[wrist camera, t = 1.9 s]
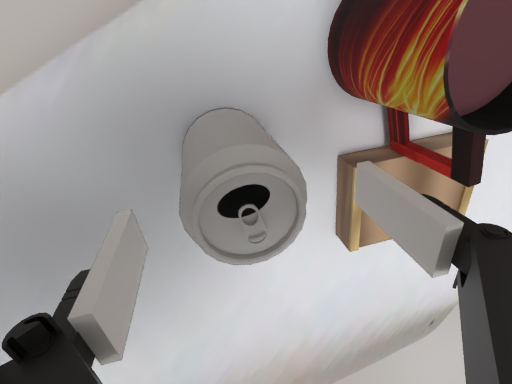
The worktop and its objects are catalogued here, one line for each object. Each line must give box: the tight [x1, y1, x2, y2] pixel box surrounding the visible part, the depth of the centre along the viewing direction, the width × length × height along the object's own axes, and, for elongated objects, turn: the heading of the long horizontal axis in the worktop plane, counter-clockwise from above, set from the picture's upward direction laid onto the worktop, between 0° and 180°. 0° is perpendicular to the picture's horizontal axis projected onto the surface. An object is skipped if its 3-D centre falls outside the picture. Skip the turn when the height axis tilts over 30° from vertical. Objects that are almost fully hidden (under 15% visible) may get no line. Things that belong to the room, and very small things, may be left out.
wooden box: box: [336, 132, 488, 252], centre depth 29 cm, size 14×10×3 cm
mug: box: [328, 0, 512, 188], centre depth 19 cm, size 10×14×12 cm
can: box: [179, 108, 307, 265], centre depth 19 cm, size 8×8×12 cm
